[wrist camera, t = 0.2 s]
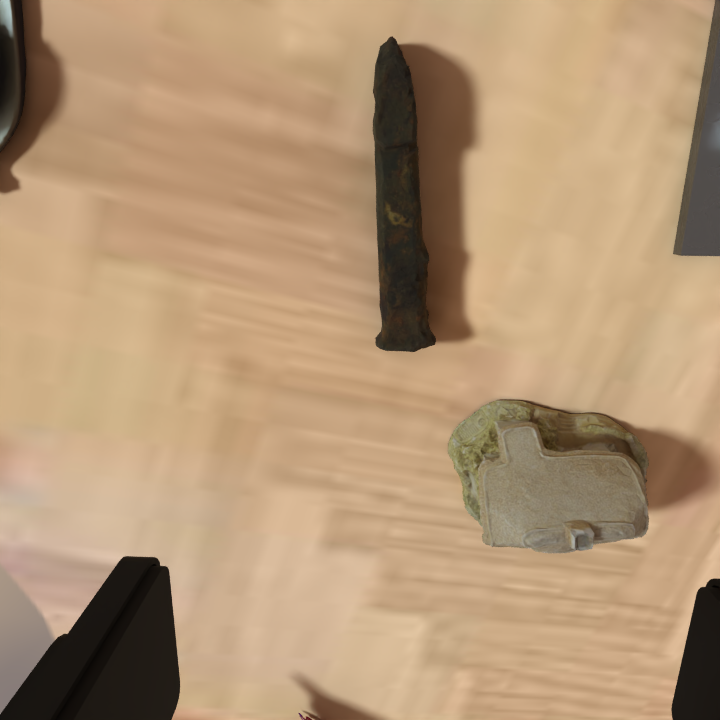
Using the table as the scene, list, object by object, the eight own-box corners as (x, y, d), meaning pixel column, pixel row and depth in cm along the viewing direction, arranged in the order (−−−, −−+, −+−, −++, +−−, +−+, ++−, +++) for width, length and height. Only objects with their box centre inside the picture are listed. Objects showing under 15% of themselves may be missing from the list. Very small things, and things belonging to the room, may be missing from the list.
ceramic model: (451, 533, 45) (470, 626, 35) (445, 401, 42) (463, 464, 32) (633, 523, 44) (702, 615, 35) (640, 388, 41) (719, 448, 31)
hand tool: (431, 339, 41) (438, 357, 36) (376, 340, 41) (375, 358, 36) (435, 44, 35) (442, 23, 31) (370, 47, 35) (369, 26, 31)
